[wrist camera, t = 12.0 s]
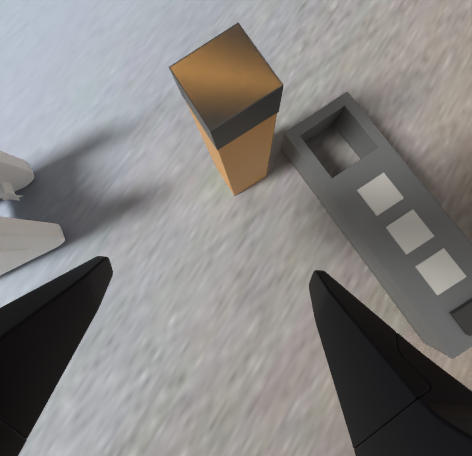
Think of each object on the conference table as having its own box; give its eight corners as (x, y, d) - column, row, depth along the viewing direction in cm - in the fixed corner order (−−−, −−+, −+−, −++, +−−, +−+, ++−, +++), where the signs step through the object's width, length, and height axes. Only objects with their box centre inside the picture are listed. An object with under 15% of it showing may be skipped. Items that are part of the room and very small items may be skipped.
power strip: (486, 302, 20) (533, 312, 17) (423, 342, 20) (457, 361, 17) (335, 111, 23) (349, 88, 20) (280, 148, 23) (285, 131, 20)
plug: (266, 176, 23) (283, 85, 10) (234, 196, 23) (210, 131, 10) (246, 145, 24) (238, 22, 11) (215, 165, 24) (168, 66, 11)
